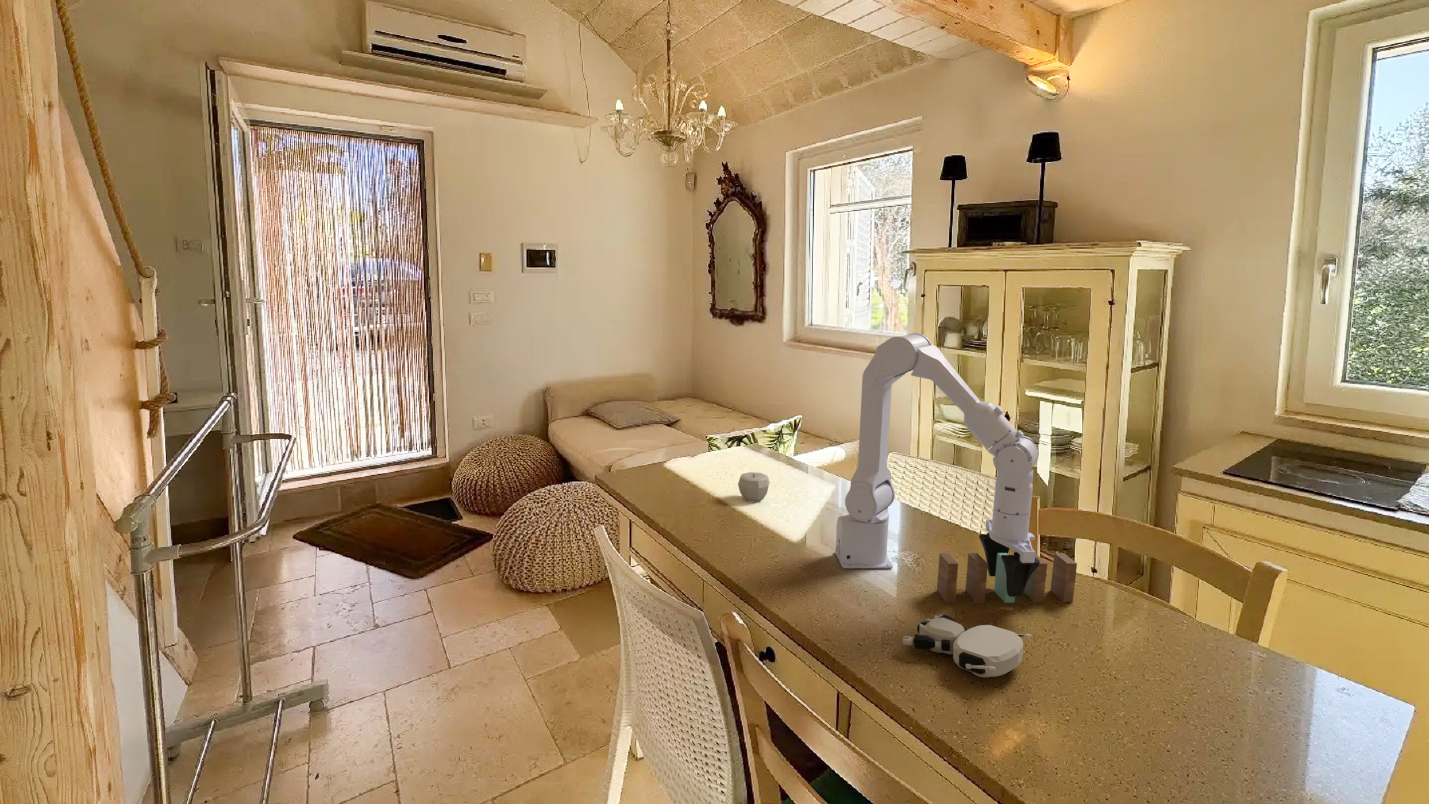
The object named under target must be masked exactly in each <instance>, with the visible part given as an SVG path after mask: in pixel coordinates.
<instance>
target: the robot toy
mask: <svg viewBox="0 0 1429 804" xmlns="http://www.w3.org/2000/svg"><path fill="white" fill-rule="evenodd" d="M916 628H917V629H916V630H917V632H918V634H917V633H915V634H914V636H913V637H912V636H910V635H904V636H903V637H902V644H903V645H904V646H913V649H914V650H921V651H929V650H930V651H931V652H935V653H937V654H940V653H943V654H947V655H952V658H953V662H954V663H955V664H956V665H957V666H958V667H959V668H960V669H962V670H965V671H968V672H971V673H972V674H973V675H975V676H977V677H979V678H991V677H992V678H993V677H995V678H996V677H997V678H998V677H1000V676H1002V675H1005V674H1007V673H1008V672H1011V671H1012V670H1014V669H1016V668H1017V667H1019V666H1020V664H1021V662H1022V660H1023V655H1024V641H1023V639H1022V638H1031V637H1033V635H1032V634H1031V633H1026V634H1022V633H1016V632H1015V631H1012V630H1008V629H1005V628H1002V627H997V626H994V625H991V624H984V625H983V624H982V625H981V624H980V625H976V626H974V627H971V628H968V629H967V628H966V627H964V626H963V625H962V624H960V623H958V622H956V619H954V618H953V617H952V616H949V615H948V614H938V615H934V616H933V618H927V619H926V618H925V619H924V621H921V622H919V624H918V625H917V627H916Z"/></svg>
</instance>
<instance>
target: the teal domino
mask: <svg viewBox="0 0 1429 804" xmlns="http://www.w3.org/2000/svg"><path fill="white" fill-rule="evenodd" d="M1001 555H1009V553H1008V554H1007V553H997V563H996V574H995V576H994V586H993V591H994V592H995V594H996V595H997V596H998V597H999V598H1000V599H1001V600H1002V602H1003V603H1004V604H1007V603H1010V604H1011V603H1012V604H1013V603H1015V599H1016V597H1010V596H1009V595H1008V593H1007V585H1006V571H1005V566H1004V563H1003V561H1002V558H1001Z"/></svg>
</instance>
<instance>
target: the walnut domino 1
mask: <svg viewBox="0 0 1429 804" xmlns="http://www.w3.org/2000/svg"><path fill="white" fill-rule="evenodd" d="M938 555H939V556H938V571H937V583H936V592H937V593H938V594H940V595H939V596H940V597H941V599H942V600H943V601H944V603H946V604H955V603H956V595H957V586H958V585H957V582H958V570H959V563H958V562H957V560H956V559H955V558H954V557H953V556H952V555H951V554H950V553H949V552H940V553H939V554H938Z"/></svg>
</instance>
